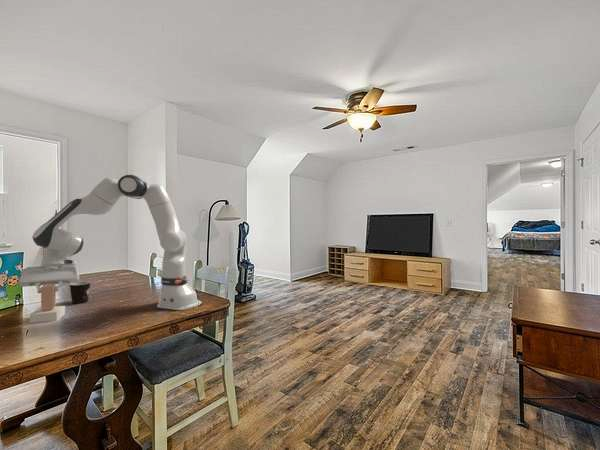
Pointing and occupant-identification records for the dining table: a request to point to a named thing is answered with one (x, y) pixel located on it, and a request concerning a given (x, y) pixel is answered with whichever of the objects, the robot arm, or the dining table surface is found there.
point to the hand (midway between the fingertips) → (48, 291)
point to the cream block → (47, 314)
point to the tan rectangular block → (48, 297)
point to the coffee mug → (80, 292)
